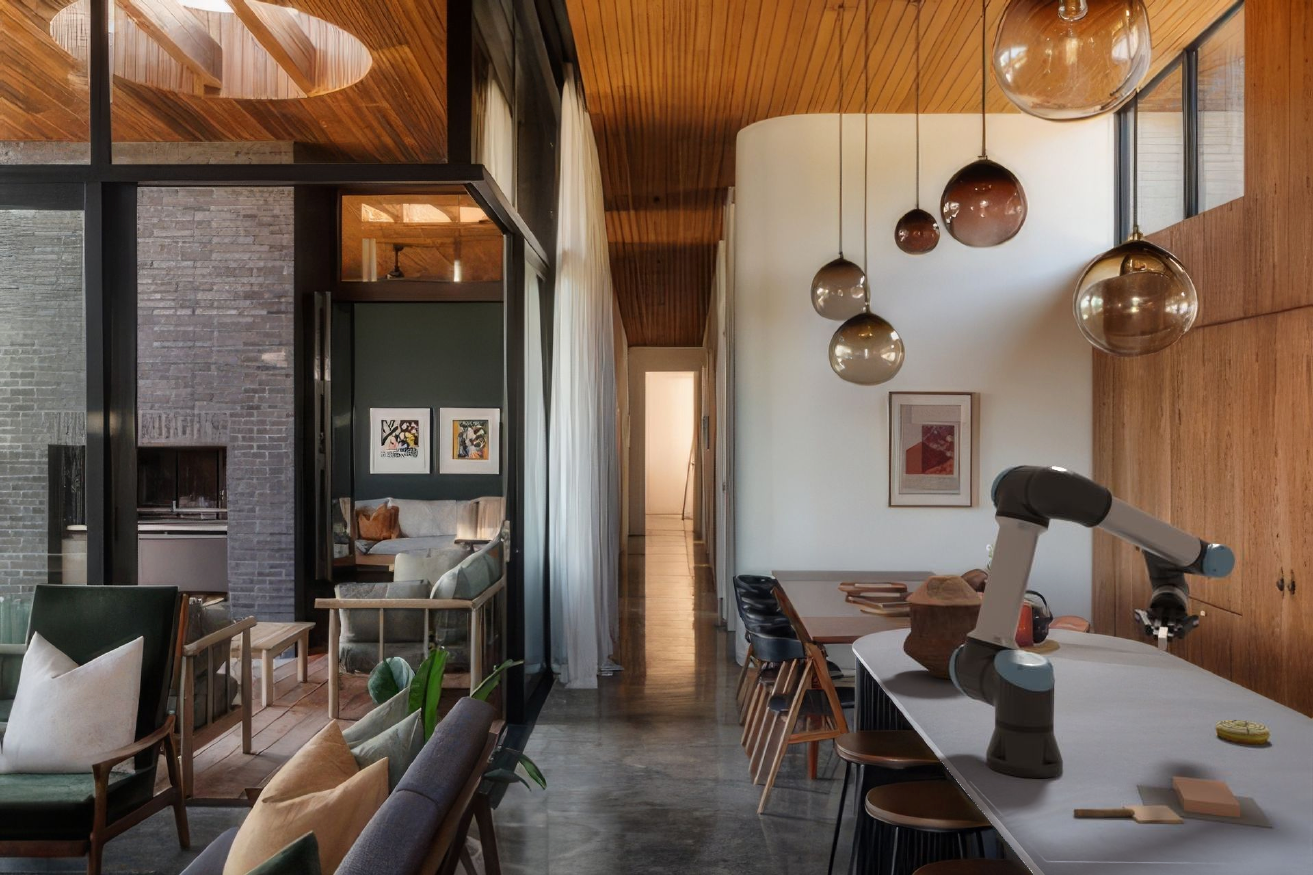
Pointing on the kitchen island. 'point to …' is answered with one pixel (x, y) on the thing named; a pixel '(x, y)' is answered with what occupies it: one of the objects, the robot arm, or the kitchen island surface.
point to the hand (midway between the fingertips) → (1162, 643)
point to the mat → (1168, 797)
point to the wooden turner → (1135, 814)
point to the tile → (1206, 796)
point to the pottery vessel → (940, 621)
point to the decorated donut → (1242, 731)
